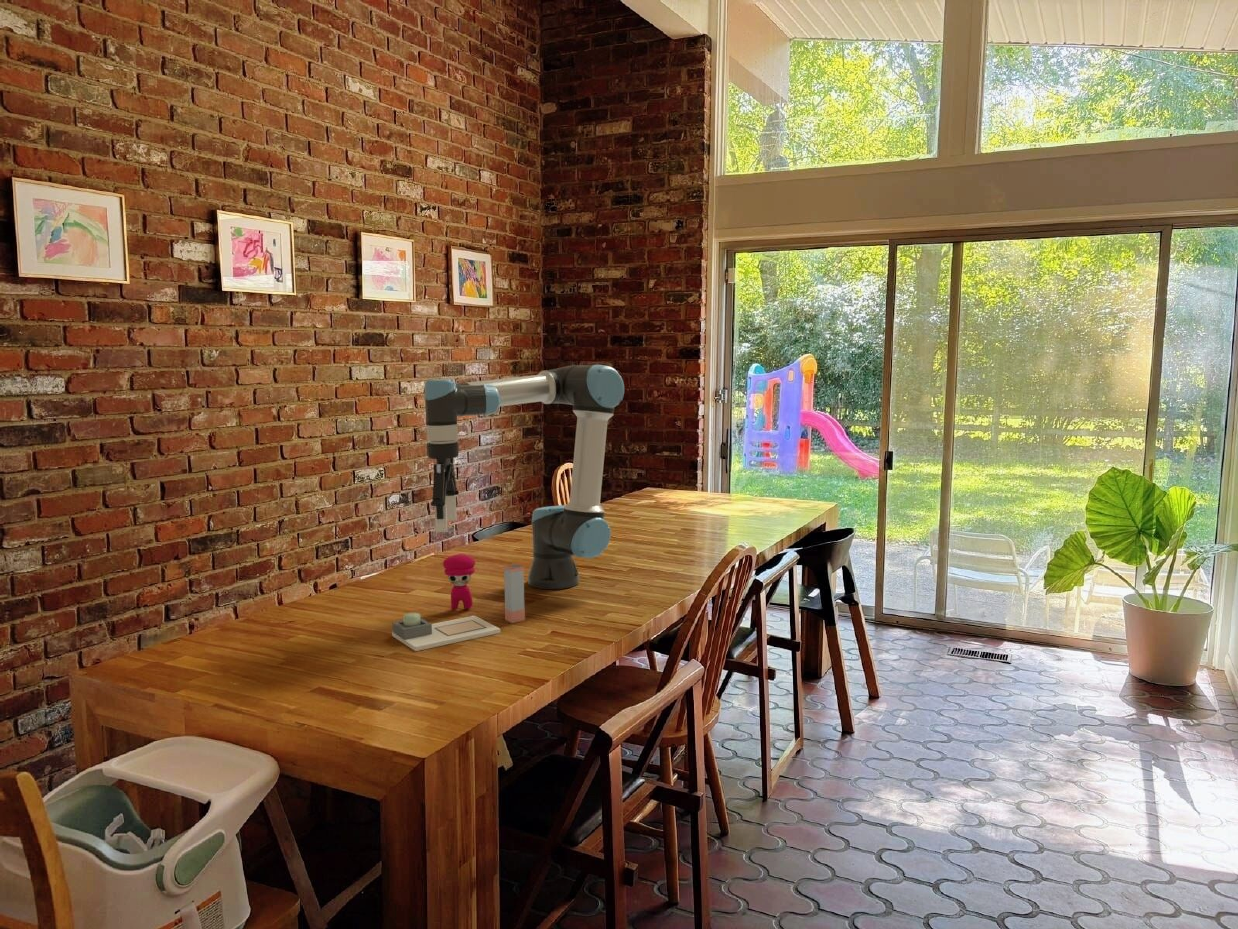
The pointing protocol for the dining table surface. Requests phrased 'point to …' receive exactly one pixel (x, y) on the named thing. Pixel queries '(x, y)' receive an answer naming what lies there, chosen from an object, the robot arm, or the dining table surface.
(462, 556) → the toy
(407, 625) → the button
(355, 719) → the dining table surface
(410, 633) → the panel
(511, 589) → the grey and pink block
